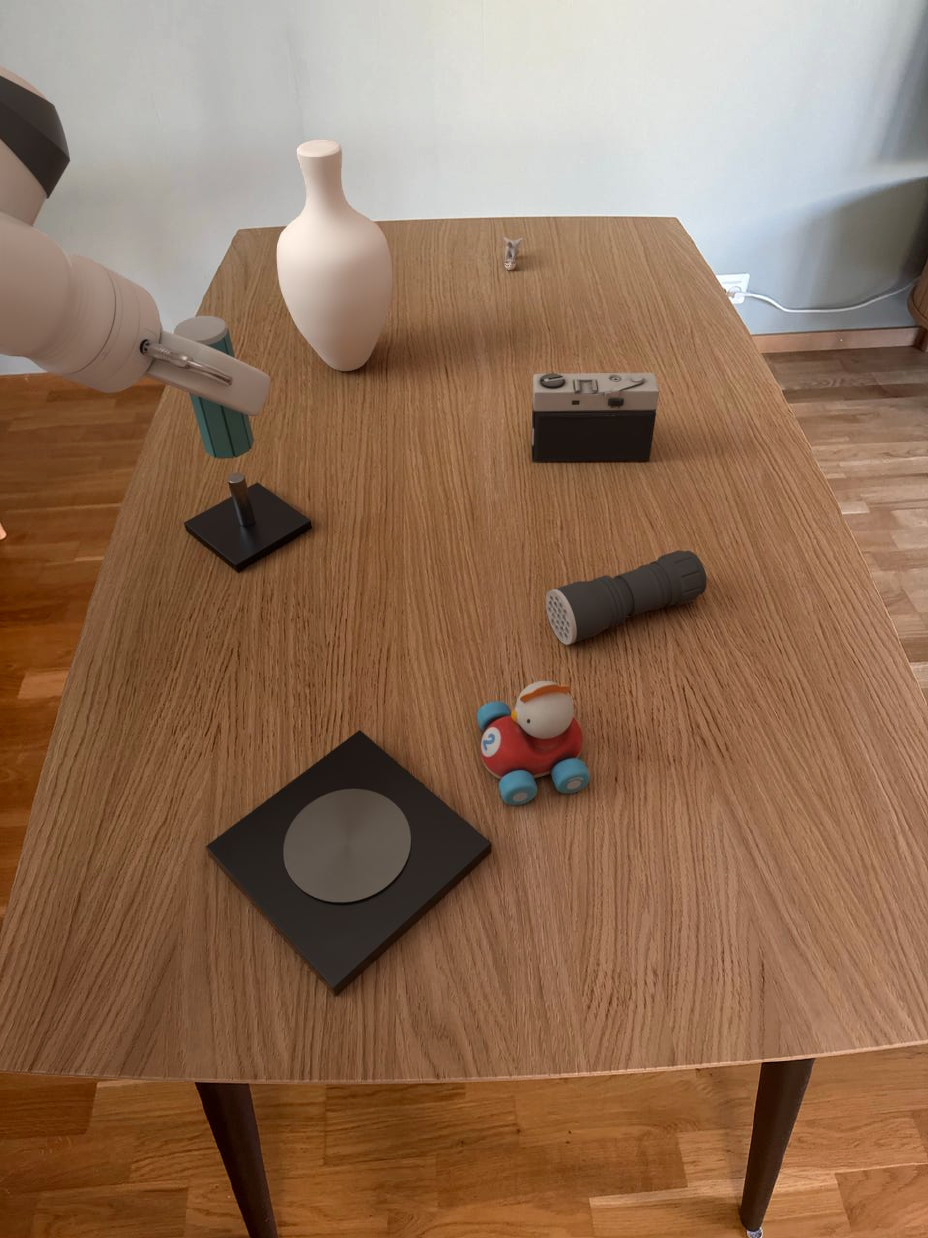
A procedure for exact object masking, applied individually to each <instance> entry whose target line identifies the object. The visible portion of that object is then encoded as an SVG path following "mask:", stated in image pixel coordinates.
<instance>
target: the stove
mask: <svg viewBox="0 0 928 1238" xmlns="http://www.w3.org/2000/svg"><path fill="white" fill-rule="evenodd" d="M492 846H493V844H492V842H491V841H489V839H487V838H486V836H484V835H483V834H482V833H481V832H479V831H478V830H477V829H476V828H475V827H474V826H472V825H471V824H470V823H469V822H468V821H467V820H465V818H463V817H462V816H461V815H460V814H458V813H457V812H456V811H455V809H453V808H451V807H450V806H449V805H448V804H447V803H446V802H444V800H442V799H441V798H440V797H439V796H438V795H436V794H435V793H434V792H433V791H432V790H431V789H430V788H428V787H427V786H426V785H425V784H424V783H422V782H421V781H420V780H419V779H418V778H417V777H416V776H414V775H413V774H412V773H411V772H410V771H408V769H406V768H405V767H404V766H403V765H402V764H400V762H398V761H397V760H396V759H394V758H393V756H392V755H390V754H389V753H387V751H385V750H384V749H383V748H382V747H381V746H379V745H378V744H377V743H376V742H375V741H373V740H372V739H371V737H369V736H368V735H366V734H365V732H363V731H362V730H361V729H358V730H357V731H356V732H354V734H352V735H351V736H349V737H348V738H347V739H346V740H344V741H342V742H341V743H340V744H338V745H337V746H336V747H335V748H334V749H332V750H331V751H329V752H328V753H327V754H326V755H324V756H323V757H322V758H321V759H320V758H319V760H318V761H316V762H315V763H314V764H313V765H311V766H309V767H308V768H307V769H306V770H304V771H303V772H302V773H300V774H299V775H298V776H297V777H295V778H293V780H292V781H290V782H288V783H286V785H285V786H283V787H282V788H280V789H279V790H278V791H277V792H275V793H274V794H273V795H271V796H270V797H269V798H267V799H266V800H265V801H264V802H262V803H261V804H259V805H258V806H257V807H255V808H254V809H253V810H252V811H250V812H249V813H247V814H246V815H245V816H244V817H243V818H241V819H240V820H238V821H236V823H235V824H233V825H232V826H231V827H229V828H228V829H227V830H225V831H224V832H223V833H221V834H219V836H217V837H216V838H215V839H213V840H212V841H211V842H210V843H208V844H207V845H206V846H205V849H206V851H207V854H208V856H209V858H210V859H211V860H212V861H213V862H214V863H215V864H216V866H218V868H219V869H220V871H222V872H223V873H224V874H225V875H226V877H227V878H228V879H229V880H230V881H231V882H232V883H233V884H234V885H235V887H236V888H238V890H239V891H240V892H241V893H242V894H243V895H244V897H245V898H246V899H247V900H248V901H249V902H250V903H251V904H252V906H254V908H255V909H256V910H257V911H258V912H259V913H260V915H261V916H262V917H263V918H264V919H265V920H266V921H267V922H268V924H270V926H271V927H272V928H273V929H274V930H275V931H276V932H277V934H279V935H280V937H281V938H282V939H283V940H284V941H285V942H286V943H287V944H288V945H289V947H290V948H291V949H292V951H293V952H295V954H297V956H298V957H299V958H300V959H301V960H302V961H303V963H305V965H306V966H307V967H308V968H309V969H310V970H311V971H312V972H313V973H314V974H315V976H316V977H317V978H318V979H319V980H320V981H321V982H322V983H323V985H324V986H325V987H326V988H327V989H328V991H330V992H331V994H332V995H333V996H334V997H337V996H339V995H340V993H342V992H343V991H344V990H345V989H346V988H347V987H348V986H349V985H350V984H351V983H353V982H354V981H355V980H356V979H357V978H358V977H359V976H360V975H361V974H362V973H363V972H364V971H366V969H368V967H370V966H371V965H372V964H373V963H374V962H375V961H377V959H379V958H380V957H381V956H382V955H383V954H384V953H385V952H386V951H387V950H388V949H389V948H390V947H391V946H393V944H395V943H396V942H397V941H398V940H399V939H400V938H401V937H403V935H405V933H406V932H407V931H409V930H410V929H411V928H412V927H413V926H414V925H416V923H417V922H418V921H420V920H421V919H422V918H423V917H424V916H425V915H426V914H427V913H428V912H429V911H430V910H431V909H432V908H434V907H435V906H436V905H437V904H438V903H439V902H440V901H441V900H442V899H444V897H445V896H447V894H449V893H450V892H451V891H452V890H453V889H454V888H455V887H456V886H457V885H459V884H460V883H461V882H462V881H463V880H464V879H465V878H466V877H467V876H468V875H469V874H470V873H471V872H473V871H474V870H475V868H477V867H478V866H479V865H480V864H481V863H483V861H485V860H486V858H488V857H489V856H490V855H491V854H492V850H493V849H492Z"/></svg>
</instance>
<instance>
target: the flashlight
mask: <svg viewBox="0 0 928 1238" xmlns="http://www.w3.org/2000/svg"><path fill="white" fill-rule="evenodd" d="M707 584H708V580H707V572H706V570H705V566H704V565H703V563H702V561H701V559H700V558H699V556H698V555H697V554H696V553H695V552H693V551H691V550H682V549H681V550H674V551H672V552H669V553H666V554H662V555H660V556H659V557H658V558H657V559H656V560H653V561H651V562H650V563H646V564H644V565H640V566H639V567H637V568H636V569H633V570H629V571H626V572H623V573H620V574H617V575H615V576H613V577H612V576H610V575H606V574H605V575H604V574H603V575H602V576H598V577H596V578H595V577H594V578H592V580H581V581H580V580H579V581H574V582H572V583H568V584H566V585H561V586H560V587H557V588H553V589H549V590H548V591H547V593H546V597H545V609H546V615H547V618H548V621H549V624H550V626H551V629H552V631H553V634H555V636H556V638H557V639H558V640H559V641H560V642H561V643H562V644H563V645H566V646H569V645H572V644H575V643H578V642H580V641H583V640H585V639H589V638H592V637H595V636H597V635H599V634H600V633H601V632H603V631H604V630H606V629H611V628H613V627H616V626H618V625H622V624H623V623H624V622H625V621H626V618H627V617H628V618H631V617H634V616H637V615H639V614H643V613H645V612H648V611H656V610H658V609H662V608H664V607H669V606H681V605H684V604H688V603H691V602H693V601H696V600H697V599H698V598H699V597H700V596H701V595H703V594H704V593H705V592H706V589H707Z"/></svg>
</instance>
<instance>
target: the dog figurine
mask: <svg viewBox="0 0 928 1238" xmlns="http://www.w3.org/2000/svg"><path fill="white" fill-rule="evenodd" d="M502 238H503V240H504V242H505V243H506V247H505V250H504V259H505V260H504V261H503V262H504V268H505V269H506V270H507V271H513V270H514V269H515V268H516V267H517V266H516V265H517V264H516V260H515V259H517V256H518V254H519V253H520V250H519V249H520V248H519V246H520V243H521V242H522V241H523V240H524V237H520V238H518V239H514V240H512V239H510V238H508V237H506V236H502ZM514 260H515V261H514ZM505 264H506V265H509V266H506V265H505ZM514 264H515V265H514ZM510 265H514V266H510Z"/></svg>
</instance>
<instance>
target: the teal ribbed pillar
mask: <svg viewBox="0 0 928 1238" xmlns="http://www.w3.org/2000/svg"><path fill="white" fill-rule="evenodd" d="M173 334H176V335H178V336H181V337H184V338H187V339H190V340H193V341H196V342H198V343H201V344H204V345H206V346H209V347H211V348H214V349H216V350H218V351H221V352H223V353H225V354H227V355H229V356H231V357H233V358H236V355H235V351H234V348H233V347H234V346H233V342H232V339H231V334H230V330H229V328H228V327H227V323H226V322H225V320H224V319H222V318H220V317H218V316H214V315H198V316H194V317H190V318H187V319H185V320H182V321H180V322H179V323H178V324H177V325H175V328H174V330H173ZM188 395H189V398H190V401H191V404H192V409H193V412H194V415H195V418H196V422H197V426H198V430H199V433H200V437H201V441H202V444H203V447H204V451H205V453H206V454H208V455H209V456H211V457H212V458H214V459H218V460H220V459H224V460H225V459H234V458H240V456H243V455H244V454H246V453H249V452H250V450H252V448H253V444H254V441H255V438H254V433H253V430H252V426H251V425H252V424H251V421H250V416H249V415H246V414H243V413H240V412H238V411H235V410H232V409H230V408H227V407H225V406H222V405H219V404H217V403H214V402H212V401H209V400H206V399H204V398H201V397H198V396H196V395H193V394H191V393H188Z"/></svg>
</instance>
